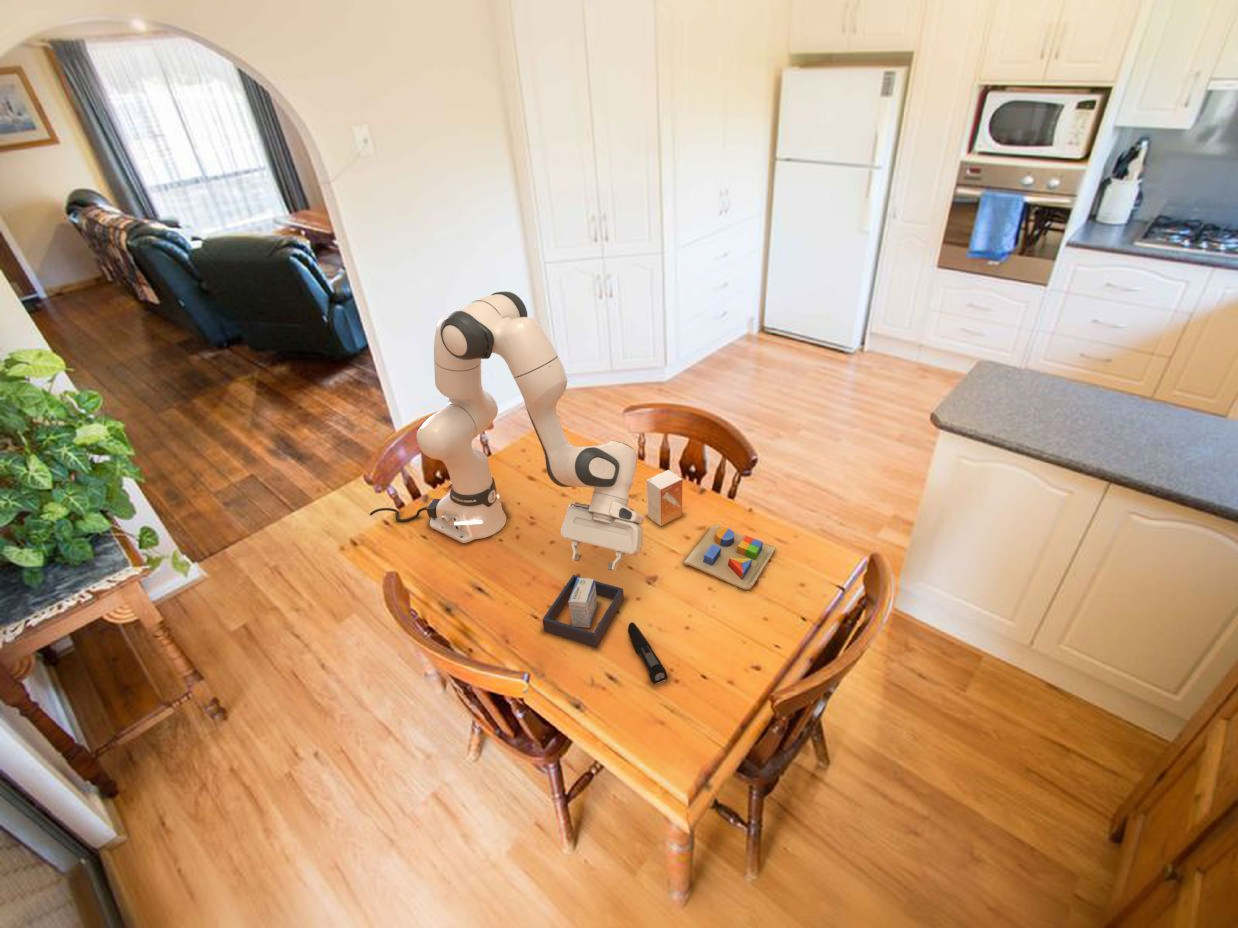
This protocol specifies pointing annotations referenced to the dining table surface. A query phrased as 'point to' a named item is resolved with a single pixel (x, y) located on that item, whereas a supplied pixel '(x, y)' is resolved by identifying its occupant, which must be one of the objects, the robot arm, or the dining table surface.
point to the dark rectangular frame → (578, 633)
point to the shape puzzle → (730, 556)
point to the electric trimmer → (647, 654)
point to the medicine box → (583, 602)
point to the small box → (664, 497)
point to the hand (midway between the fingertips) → (593, 565)
